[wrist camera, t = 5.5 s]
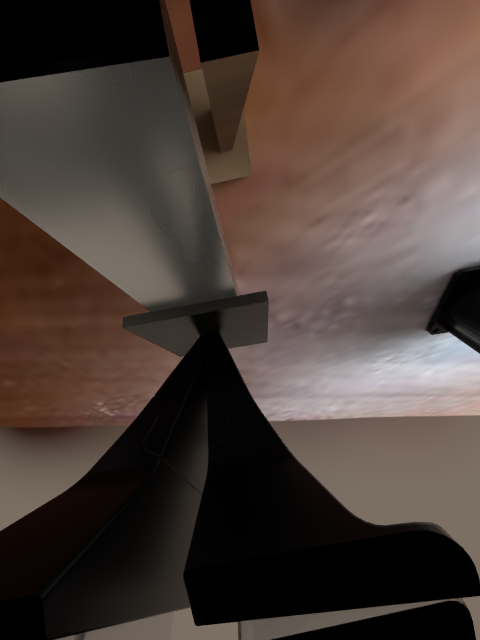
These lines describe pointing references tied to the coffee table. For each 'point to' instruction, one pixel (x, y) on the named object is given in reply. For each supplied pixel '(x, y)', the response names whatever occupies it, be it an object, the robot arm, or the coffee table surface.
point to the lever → (119, 163)
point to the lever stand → (223, 84)
